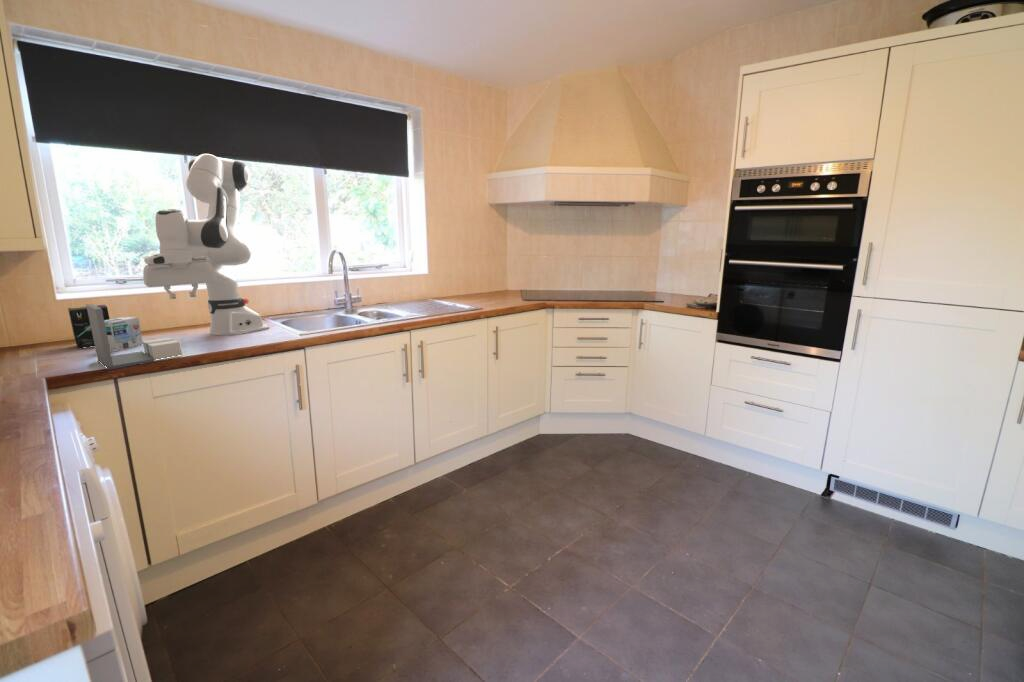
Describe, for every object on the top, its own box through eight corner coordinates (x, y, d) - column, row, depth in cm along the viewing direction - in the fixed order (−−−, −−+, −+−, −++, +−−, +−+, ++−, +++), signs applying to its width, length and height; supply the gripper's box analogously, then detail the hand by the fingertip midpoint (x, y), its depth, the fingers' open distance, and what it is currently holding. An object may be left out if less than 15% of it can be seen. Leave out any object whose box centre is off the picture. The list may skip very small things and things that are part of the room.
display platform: (142, 354, 168) (132, 300, 164) (154, 361, 158) (143, 304, 154) (98, 361, 159) (86, 304, 155) (107, 369, 149) (95, 309, 145)
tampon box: (112, 340, 190) (105, 304, 187) (115, 344, 184) (107, 306, 180) (75, 345, 183) (67, 307, 179) (77, 349, 176) (68, 310, 173)
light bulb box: (116, 351, 173) (110, 322, 170) (101, 350, 174) (95, 321, 172) (144, 344, 183) (139, 316, 180) (130, 343, 184) (124, 316, 182)
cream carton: (172, 350, 173) (169, 337, 172) (182, 356, 165) (179, 341, 164) (145, 355, 167) (142, 341, 166) (154, 360, 159) (151, 346, 158)
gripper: (207, 256, 175) (213, 294, 178) (138, 259, 160) (145, 300, 163) (213, 256, 171) (219, 295, 174) (143, 259, 156) (150, 301, 159)
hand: (183, 297), depth 168 cm, fingers open, 5 cm apart
